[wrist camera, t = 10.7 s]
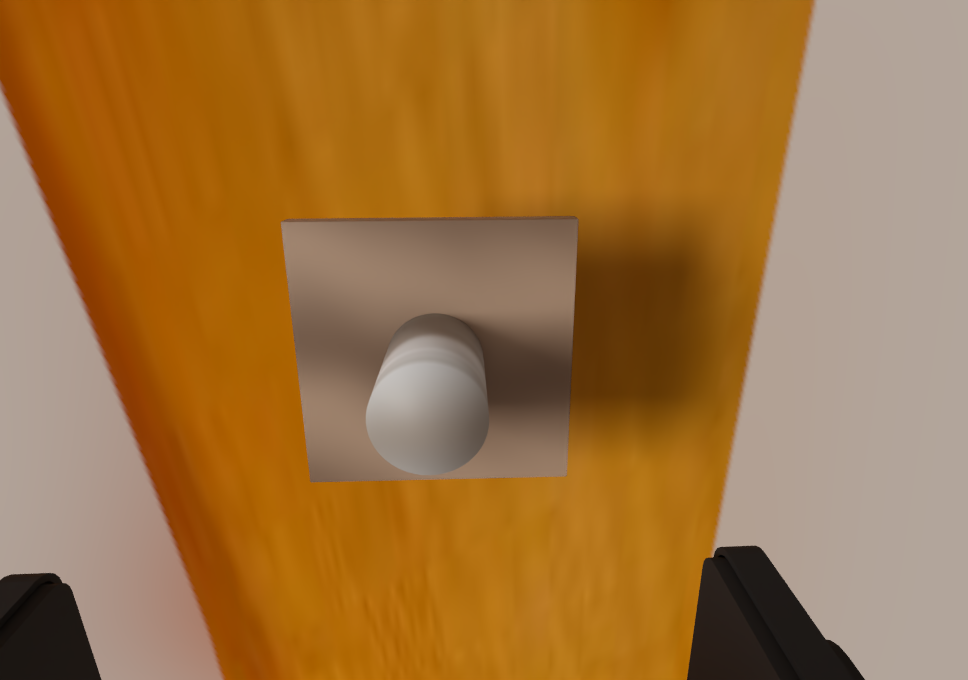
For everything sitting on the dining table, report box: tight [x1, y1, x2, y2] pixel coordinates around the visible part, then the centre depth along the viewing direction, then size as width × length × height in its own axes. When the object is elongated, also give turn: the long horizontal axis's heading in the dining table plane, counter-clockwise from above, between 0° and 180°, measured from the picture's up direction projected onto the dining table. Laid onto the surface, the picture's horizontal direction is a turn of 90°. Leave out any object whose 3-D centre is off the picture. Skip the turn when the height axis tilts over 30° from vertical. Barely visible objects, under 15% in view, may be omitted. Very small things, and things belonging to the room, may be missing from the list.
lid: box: [281, 216, 578, 482], centre depth 20 cm, size 10×10×6 cm
